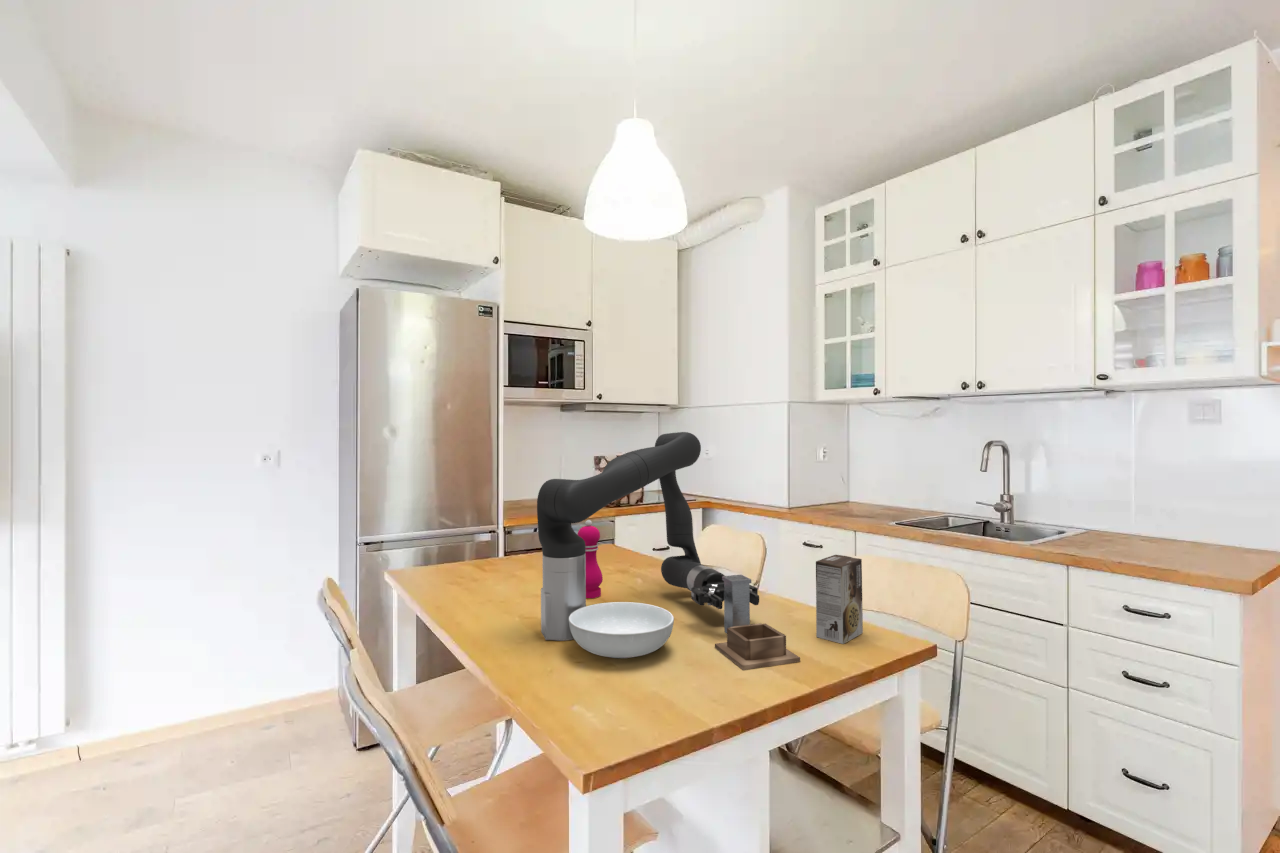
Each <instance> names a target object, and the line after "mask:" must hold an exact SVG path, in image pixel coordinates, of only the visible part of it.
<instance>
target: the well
mask: <svg viewBox="0 0 1280 853" xmlns="http://www.w3.org/2000/svg"><path fill="white" fill-rule="evenodd" d="M714 649H716V650H717V651H719V653H720V654H722V655H724V656H725V657H726V659H728V660H730V661H731V662H732V663H733V664H735V665H736V666H737V667H738V668H740V669H741V670H742V671H744V670H751V669H752V670H753V669H760V668H765V667H773V666H779V665H780V666H781V665H787V664H794V663H799V662H801V657H800V656H799V655H797V654H795V653H794V652H792V651H790V650H789V649H787V635H786V634H784V633H783V632H780V631H779V630H777V629H776V628H775V627H772V626H770V625H769V624H767V623H761V622H760V623H754V624H751V623H750V625H742V626H734V627H730V628H727V633H726V641H724V642H718V643H717V642H716V643H714Z"/></svg>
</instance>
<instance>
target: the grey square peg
mask: <svg viewBox="0 0 1280 853" xmlns="http://www.w3.org/2000/svg"><path fill="white" fill-rule="evenodd" d="M722 580H723V581H724V601H723V602H724V603H723V606H724V607H723V608H724V609H723V611H724V612H723V616H724V617H723V618H724V619H723V620H724V621H723V622H724V623H723V624H724V626H723V629H724V633H725V634H727V628H730V627H734V626H742V625H751V618H750V617H751V616H750V614H751V613H750V612H751V609H750V606H751V605H750V590H749V585H750V584H752V578H749V577H747V576H745V575H743V574H734V575H725V576H722Z"/></svg>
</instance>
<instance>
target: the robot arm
mask: <svg viewBox="0 0 1280 853" xmlns="http://www.w3.org/2000/svg"><path fill="white" fill-rule="evenodd" d="M701 445H702V444H701V442H700V440H699V438H698V437H697V435H694V434H693V433H691V432H688V431H680V432H678V431H677V432H672V433H671V432H670V433H663V434H661V435H658V437H657V438H656V441H655V444H654V446H652V447H651V446H650V447H644V448H640V449H636V450H631V451H628V452H626V453H623V454H621V455H618V456H616V457H614V458H612V459H610V461H609V462H607V464H606V465H605V466H604V469H603V470H602V472H601V473H598V474H596V475H593V476H590V477H586V478H582V479H565V478H564V479H563V478H550V479H548V480H546V481H545V482H543V484H542V485H541V486H540V488H539V491H538V494H537V498H536V499H537V500H536V517H537V531H538V534H537V535H538V540H539V544H540V546H541V551H542V554H541V555H542V587H541V589H540V632H541V634H542V636H543V638H544V640H545V641H559V642H560V641H571V640H575V639H574V638H573V636H572V633H571V630H570V626H569V616H570V615H571V613H573V612H574V611H576V610H578V609H580V608H583V607H586V606H587V599H586V555H585V553H586V547H585V541H584V540H583V539H582V538H581V537H580V536H578V533H577V532H575V530H574V528H573V527H572V524H578V523H581V522H584V521H585V520H588V519H589V518H590V517H592V516H593V515H594V514H596V513H597V512H599V511H600V510H602V509H603V508H605V507H606V506H608V505H609V504H611V503H613V502H616V501H617V500H619V499H622V498H623V497H627V495H630V494H633V493H635V492H636V491H639V490H640V489H643V488H644V487H646V486H648V485H649V484H651V483H653V482H655V481H657V480H659V483H660V488H661V489H660V490H661V492H662V493H661V494H662V498H663V503H664V511H665V526H666V527H665V528H666V529H665V530H666V542H667V544H668V546H670V547H674V548H679V549H682V550H683V553H684V554H683V555H672V556H668V557H666V558H665V559H664V560H663V561H662V563H661V567H660V573H661V576H662V579H664V581H665V582H666V583H667V584H669V585H670V586H673V587H677V588H680V589H681V588H684V589H687V590H688V591H690V594H691V595H690V596H691V597H690V598H691V600H692V601H693V602H695V603H696V604H697V605H698V606H704V605H705V604H707V606H712V607H714V608H716V609H718V610H722V609H723V602H724V581H723V580H722V576H726V575H725V574H724V573H722V572H720V571H717V569H714V568H713V567H709V566H705V565H704V564H702V562H701V559H700V556H699V554H698V551H697V548H696V543H695V539H694V527H693V523H694V522H693V514H692V510H691V508H690V505H689V503H688V502H687V499H686V497H685V496H684V494H683V492H682V490H681V489H680V486H679V483H678V479H677V475H676V474H677V472H676V471H678V470H681V469H683V468H687V467H691V466H693V465H694V464H695V463H696V462H697V461H698V459H699V458H700V456H701V452H702V451H701V450H702V446H701ZM758 589H759V588H758V587H756V586H754V585H751V584H749V590H750V603H751V604H752V605H753V606H758V605H759V604H760V595H759V593H758V592H759V591H758Z"/></svg>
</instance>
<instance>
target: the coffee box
mask: <svg viewBox="0 0 1280 853" xmlns="http://www.w3.org/2000/svg"><path fill="white" fill-rule="evenodd" d="M862 560H863V559H862V558H856V557H853V556H847V555H842V554H833V555H831V556H827V557H824V558H822V559H818V560H815V595H816V596H815V600H816V601H815V610H816V611H815V612H816V613H815V616H816V618H815V619H816V624H815V626H816V633H815V634H816V635H815V636H816V638H819V639H822V640H827V641H830V642H834V643H838V644H841V645H844V644H846V643H848V642H850V641H851V640H853V639H855V638H856V637H858V636H860V635H863V633H864V627H863V626H864V624H863V622H864V621H863V618H864V617H863V614H864V613H863V570H862V569H863V568H862V567H863V566H862V563H863V562H862Z"/></svg>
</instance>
